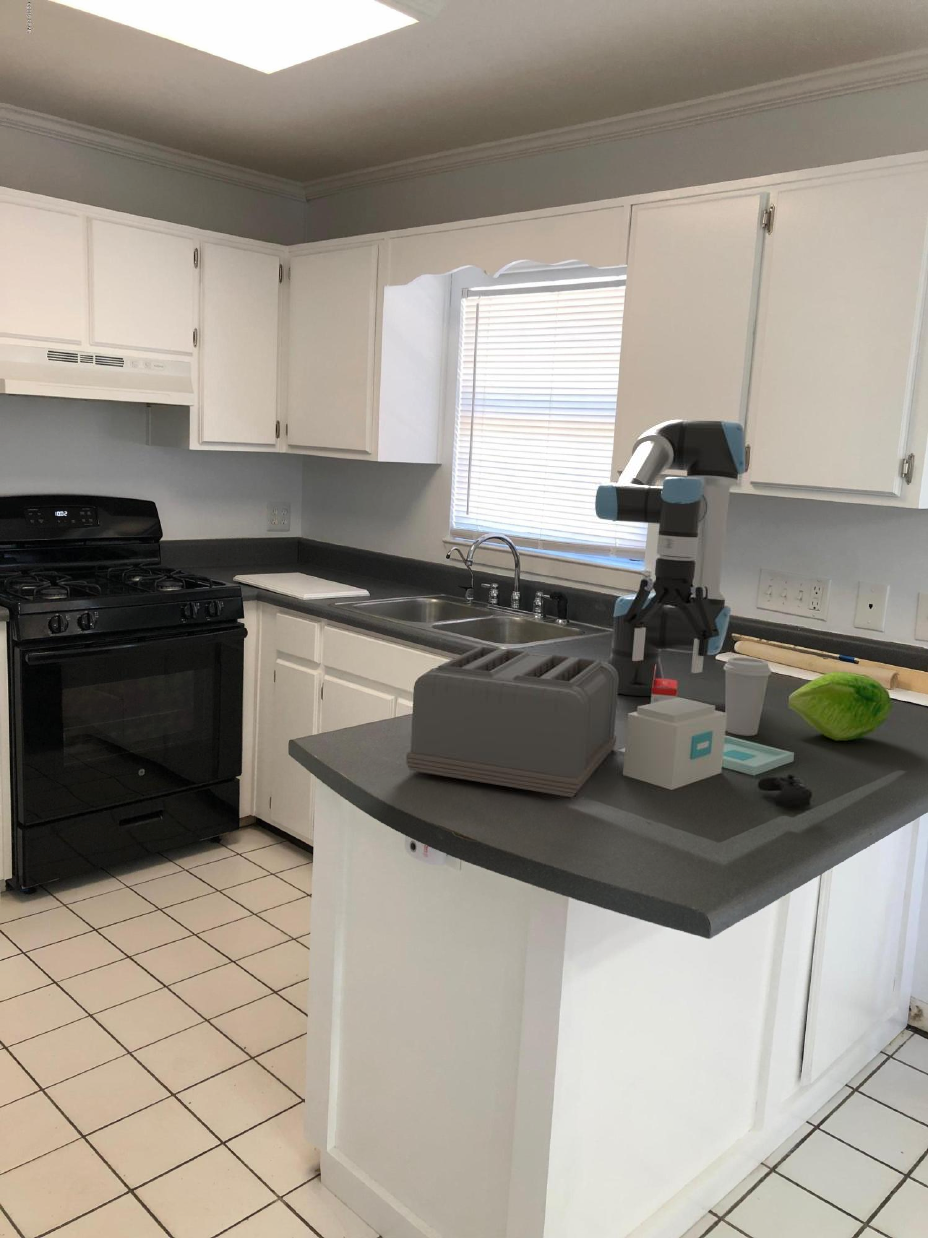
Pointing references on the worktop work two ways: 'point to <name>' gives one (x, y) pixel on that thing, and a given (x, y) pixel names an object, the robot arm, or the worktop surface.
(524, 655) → the toaster
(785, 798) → the gaming controller
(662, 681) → the ink box
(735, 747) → the tray
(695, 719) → the white lidded box
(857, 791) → the worktop surface
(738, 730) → the coffee cup
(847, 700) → the lettuce
